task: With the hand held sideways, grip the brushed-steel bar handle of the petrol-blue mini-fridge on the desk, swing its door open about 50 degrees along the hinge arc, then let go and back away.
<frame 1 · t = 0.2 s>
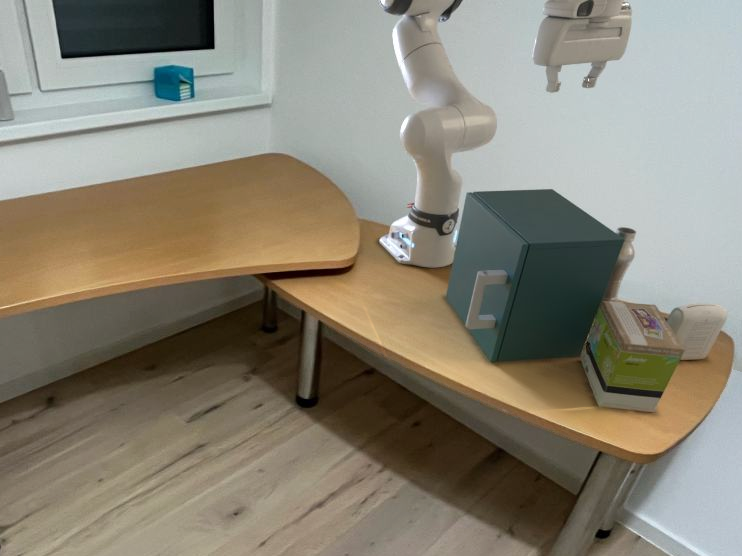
hand: (570, 89, 105), 48 cm above the table, tool pointing down, fingers open, 8 cm apart
fridge door: (468, 275, 118), point 13 cm above the table, hinge at 0.0°
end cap: (630, 341, 123), on the table, touching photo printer
tea box: (613, 386, 110), on the table
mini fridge: (510, 325, 127), on the table
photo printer: (677, 356, 118), on the table, touching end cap
beige vase: (596, 310, 133), on the table
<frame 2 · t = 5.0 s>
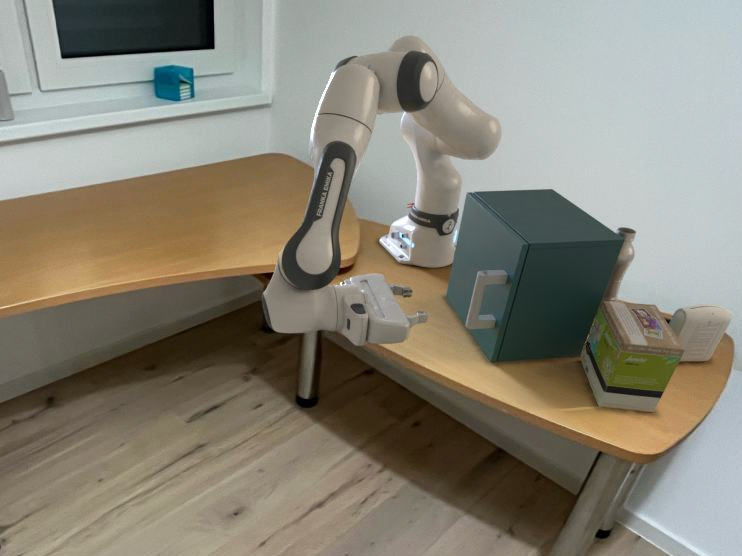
hand: (418, 303, 109), 13 cm above the table, tool horizontal, fingers open, 8 cm apart
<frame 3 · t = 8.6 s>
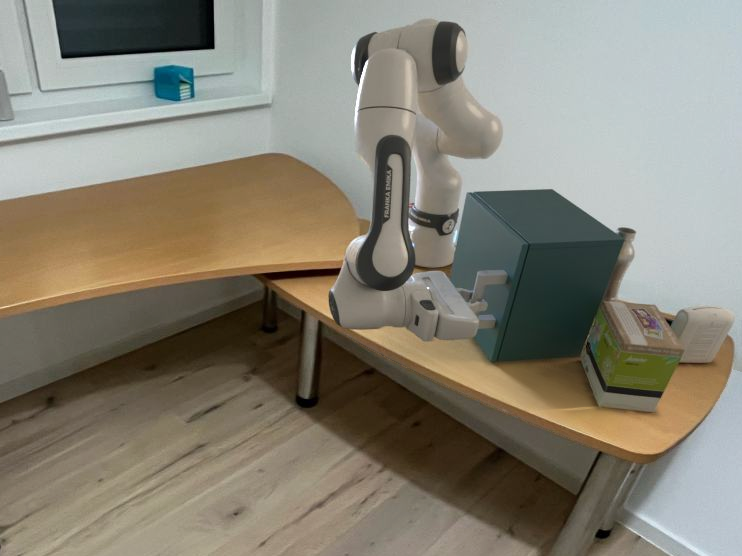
hand: (482, 300, 110), 13 cm above the table, tool horizontal, fingers closed on fridge door, 2 cm apart
fridge door: (468, 275, 118), point 13 cm above the table, hinge at 0.0°, touching gripper
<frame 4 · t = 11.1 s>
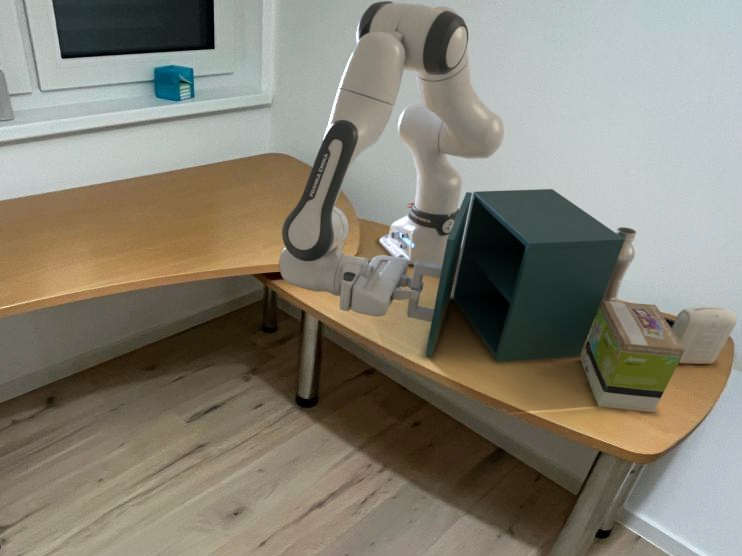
hand: (420, 291, 113), 13 cm above the table, tool horizontal, fingers closed on fridge door, 2 cm apart
fridge door: (436, 270, 120), point 13 cm above the table, hinge at 28.7°, touching gripper
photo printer: (685, 359, 117), on the table, touching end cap
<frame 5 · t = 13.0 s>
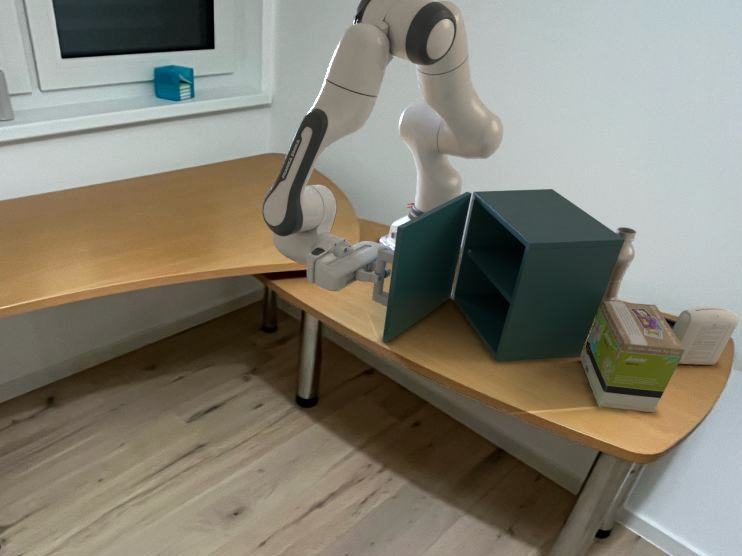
hand: (384, 276, 118), 13 cm above the table, tool horizontal, fingers closed on fridge door, 2 cm apart
fridge door: (416, 262, 123), point 13 cm above the table, hinge at 50.0°, touching gripper
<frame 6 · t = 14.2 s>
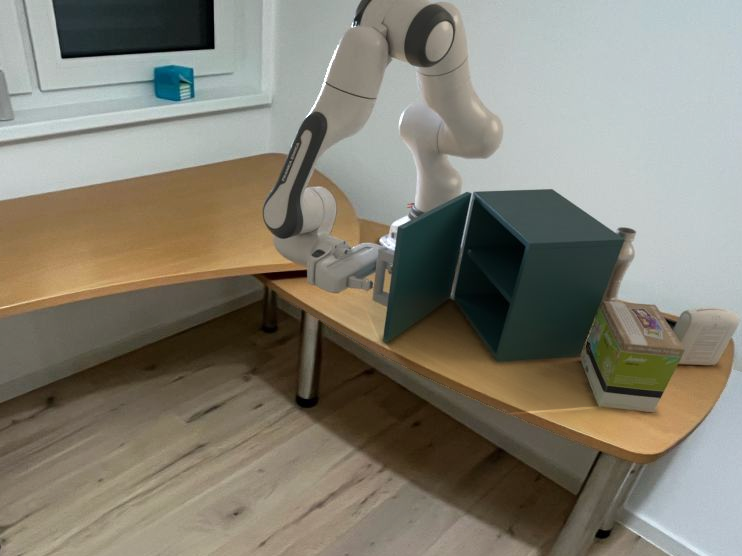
hand: (384, 278, 118), 13 cm above the table, tool horizontal, fingers open, 8 cm apart
fridge door: (416, 262, 123), point 13 cm above the table, hinge at 49.9°
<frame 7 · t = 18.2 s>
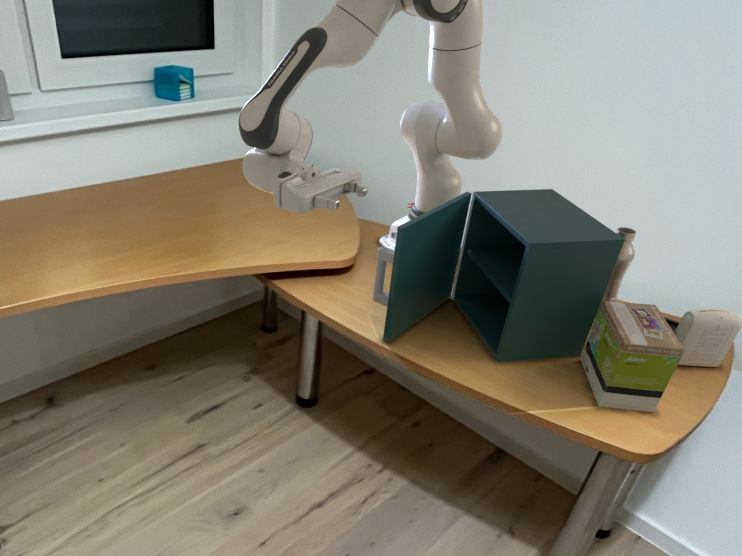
hand: (351, 198, 115), 27 cm above the table, tool horizontal, fingers open, 8 cm apart
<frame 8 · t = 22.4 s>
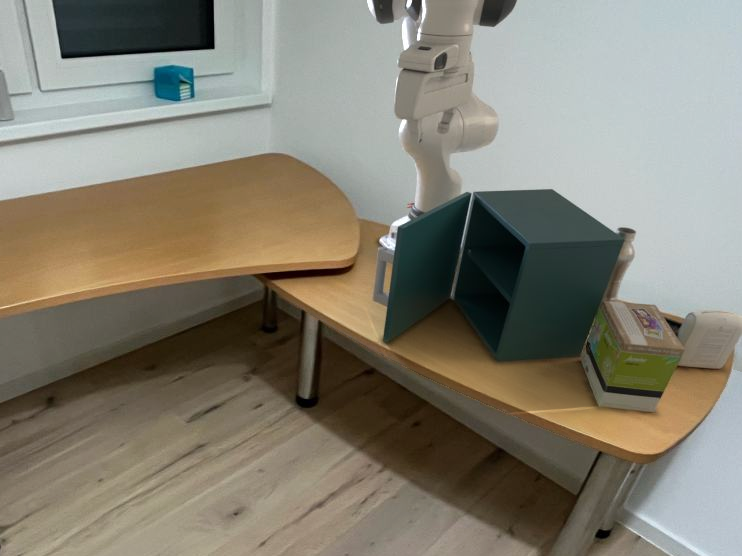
hand: (429, 137, 102), 41 cm above the table, tool pointing down, fingers open, 8 cm apart
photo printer: (692, 363, 116), on the table, touching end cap
at the end: fridge door at +50° (first picture: +0°); the gripper is holding nothing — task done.
